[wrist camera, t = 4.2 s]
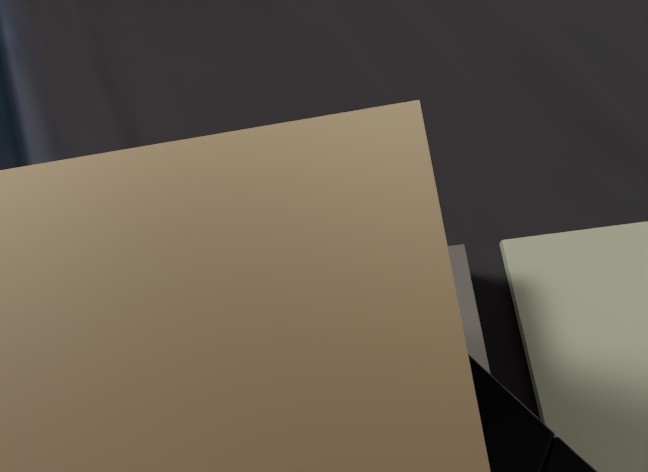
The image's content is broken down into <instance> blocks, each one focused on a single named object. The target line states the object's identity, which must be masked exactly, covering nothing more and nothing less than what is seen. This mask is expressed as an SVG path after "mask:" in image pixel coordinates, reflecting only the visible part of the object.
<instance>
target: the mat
mask: <svg viewBox="0 0 648 472" xmlns="http://www.w3.org/2000/svg"><path fill="white" fill-rule="evenodd" d="M499 245H500V249H501V253H502V258H503V262H504V266H505V270H506V275H507V279H508V283H509V287H510V292H511V296H512V300H513V305H514V309H515V313H516V317H517V322H518V326H519V330H520V335H521V339H522V343H523V347H524V352H525V356H526V360H527V364H528V369H529V373H530V377H531V382H532V386H533V390H534V394H535V399H536V403H537V407H538V411H539V416H540V420H541V421H542V422H543V423H544V424H545V425H546V426H547V427H548V428H550V429H551V430H552V431H553V432H554V433H555V437H560V438H561V439H562V440H563V441H564V442H565V443H566V444H567V445H568V446H569V447H570V448H571V449H573V450H574V451H575V452H576V453H577V454H578V455H579V456H580V457H581V458H583V459H584V460H585V461H586V462H587V463H588V464H589V465H591V466H592V467H593V468H594V469H595V470H596V471H598V472H648V221H647V222H639V223H631V224H624V225H616V226H608V227H600V228H593V229H585V230H577V231H569V232H562V233H554V234H546V235H538V236H530V237H523V238H515V239H507V240H502V241H501V242H500V244H499Z"/></svg>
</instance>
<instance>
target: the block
mask: <svg viewBox="0 0 648 472" xmlns="http://www.w3.org/2000/svg"><path fill="white" fill-rule="evenodd" d="M0 472H491V471H490V466H489V461H488V455H487V450H486V445H485V440H484V434H483V429H482V424H481V419H480V414H479V408H478V403H477V398H476V393H475V388H474V382H473V377H472V372H471V367H470V361H469V356H468V351H467V346H466V341H465V335H464V330H463V325H462V320H461V315H460V309H459V304H458V299H457V294H456V288H455V283H454V278H453V273H452V268H451V262H450V257H449V252H448V247H447V242H446V236H445V231H444V226H443V221H442V215H441V210H440V205H439V200H438V195H437V189H436V184H435V179H434V174H433V169H432V163H431V158H430V153H429V148H428V142H427V137H426V132H425V127H424V122H423V116H422V111H421V106H420V101H419V100H416V101H410V102H404V103H398V104H392V105H386V106H380V107H374V108H368V109H362V110H356V111H350V112H344V113H338V114H332V115H326V116H321V117H315V118H309V119H303V120H297V121H291V122H285V123H279V124H273V125H267V126H261V127H255V128H249V129H243V130H237V131H231V132H226V133H220V134H214V135H208V136H202V137H196V138H190V139H184V140H178V141H172V142H166V143H160V144H154V145H148V146H142V147H137V148H131V149H125V150H119V151H113V152H107V153H101V154H95V155H89V156H83V157H77V158H71V159H65V160H59V161H53V162H47V163H42V164H36V165H30V166H24V167H18V168H12V169H6V170H0Z"/></svg>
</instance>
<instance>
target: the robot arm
mask: <svg viewBox="0 0 648 472" xmlns="http://www.w3.org/2000/svg"><path fill="white" fill-rule="evenodd" d="M468 356H469V361H470V367H471V372H472V377H473V382H474V388H475V393H476V398H477V403H478V408H479V414H480V419H481V424H482V429H483V434H484V440H485V445H486V450H487V455H488V461H489V466H490V471H491V472H598V471H596V470H595V469H594V468H593V467H592V466H591V465H589V464H588V463H587V462H586V461H585V460H584V459H583V458H581V457H580V456H579V455H578V454H577V453H576V452H575V451H574V450H573V449H571V448H570V447H569V446H568V445H567V444H566V443H565V442H564V441H563V440H562V439H561V438H560V437H555V433H554V432H553V431H552V430H551V429H550V428H548V427H547V426H546V425H545V424H544V423H543V422H542V421H541V420H540V419H539V418H538V417H536V416H535V415H534V414H533V413H532V412H531V411H530V410H529V409H528V408H527V407H526V406H525V405H523V404H522V403H521V402H520V401H519V400H518V399H517V398H516V397H515V396H514V395H513V394H511V393H510V392H509V391H508V390H507V389H506V388H505V387H504V386H503V385H502V384H501V383H499V382H498V381H497V380H496V379H495V378H494V377H493V376H492V375H491V374H490V373H489V372H487V371H486V370H485V369H484V368H483V367H482V366H481V365H480V364H479V363H478V362H477V361H476V360H474V359H473V358H472V357H471V356H470V355H469V354H468Z"/></svg>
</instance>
